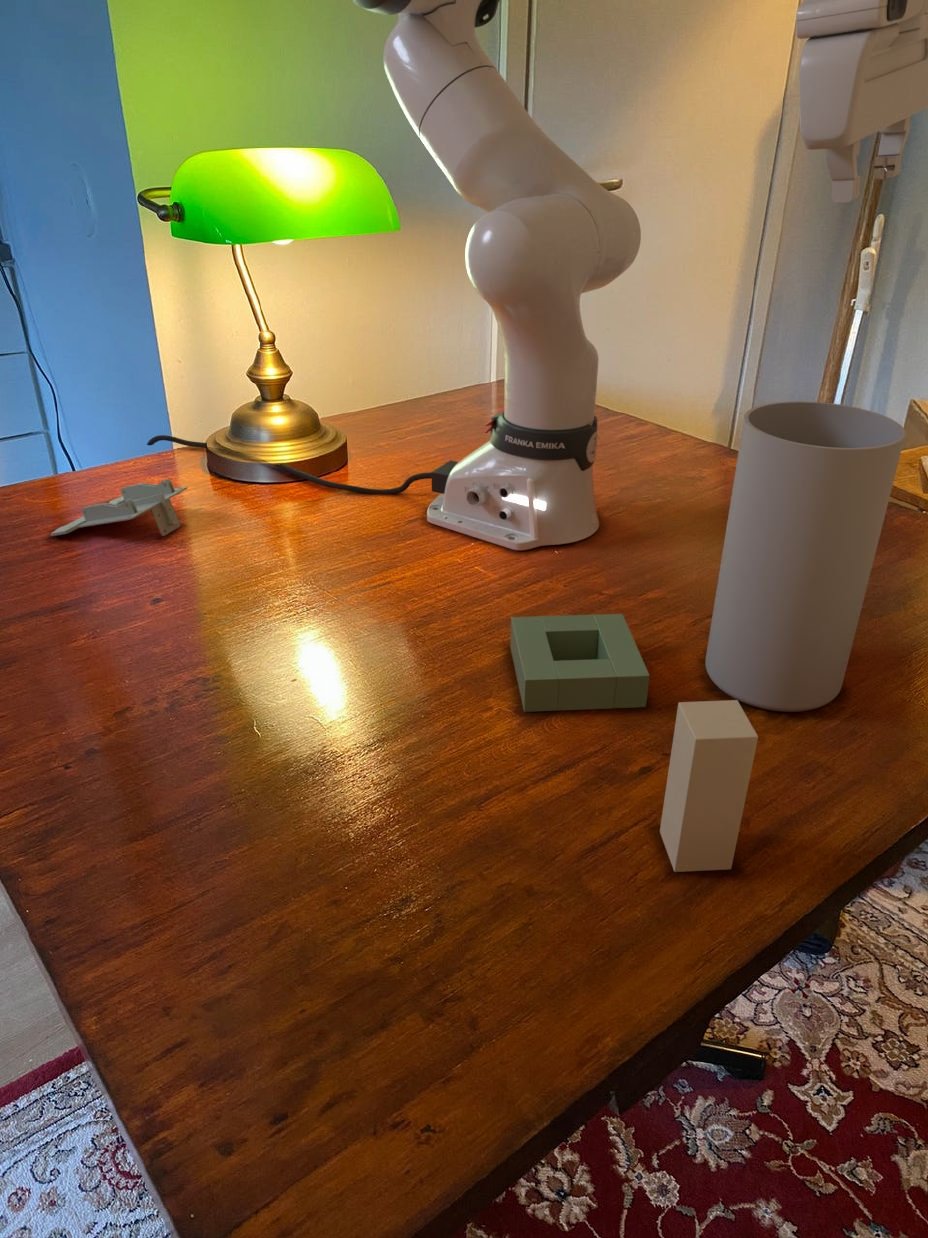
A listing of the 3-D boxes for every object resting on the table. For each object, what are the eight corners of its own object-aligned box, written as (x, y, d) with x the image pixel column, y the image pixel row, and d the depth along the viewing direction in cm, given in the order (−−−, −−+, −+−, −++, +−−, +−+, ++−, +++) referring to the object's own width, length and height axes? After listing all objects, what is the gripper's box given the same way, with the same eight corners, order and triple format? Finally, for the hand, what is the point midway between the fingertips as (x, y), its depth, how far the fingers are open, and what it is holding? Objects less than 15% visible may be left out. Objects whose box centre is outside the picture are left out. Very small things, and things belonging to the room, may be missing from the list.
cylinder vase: (822, 732, 79) (889, 460, 67) (685, 689, 85) (724, 431, 73) (853, 666, 89) (917, 416, 76) (727, 631, 94) (768, 393, 82)
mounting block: (523, 712, 82) (525, 680, 80) (510, 647, 92) (511, 616, 90) (646, 707, 83) (650, 675, 81) (619, 643, 92) (622, 613, 91)
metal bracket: (197, 467, 119) (119, 509, 107) (213, 508, 121) (139, 554, 109) (118, 481, 125) (37, 522, 113) (135, 520, 128) (57, 564, 116)
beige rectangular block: (674, 872, 65) (695, 739, 59) (659, 831, 69) (678, 701, 63) (731, 869, 65) (758, 736, 59) (713, 829, 69) (737, 699, 63)
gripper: (885, -9, 78) (873, 167, 86) (785, 14, 66) (780, 216, 73) (965, -23, 74) (945, 162, 82) (874, -2, 62) (860, 214, 70)
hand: (866, 188), depth 77 cm, fingers open, 8 cm apart
